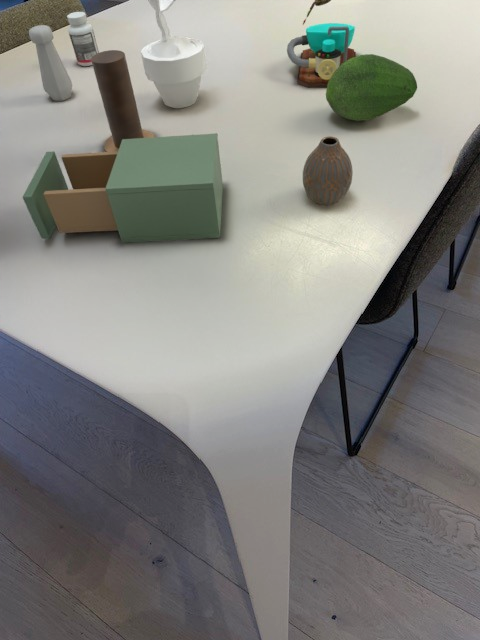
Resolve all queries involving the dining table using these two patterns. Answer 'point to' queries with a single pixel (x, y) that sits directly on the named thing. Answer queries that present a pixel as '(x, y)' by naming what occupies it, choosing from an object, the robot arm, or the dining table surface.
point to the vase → (327, 172)
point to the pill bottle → (82, 38)
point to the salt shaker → (50, 64)
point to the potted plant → (174, 62)
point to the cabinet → (167, 188)
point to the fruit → (369, 87)
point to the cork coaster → (111, 147)
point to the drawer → (71, 194)
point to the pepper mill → (117, 95)
